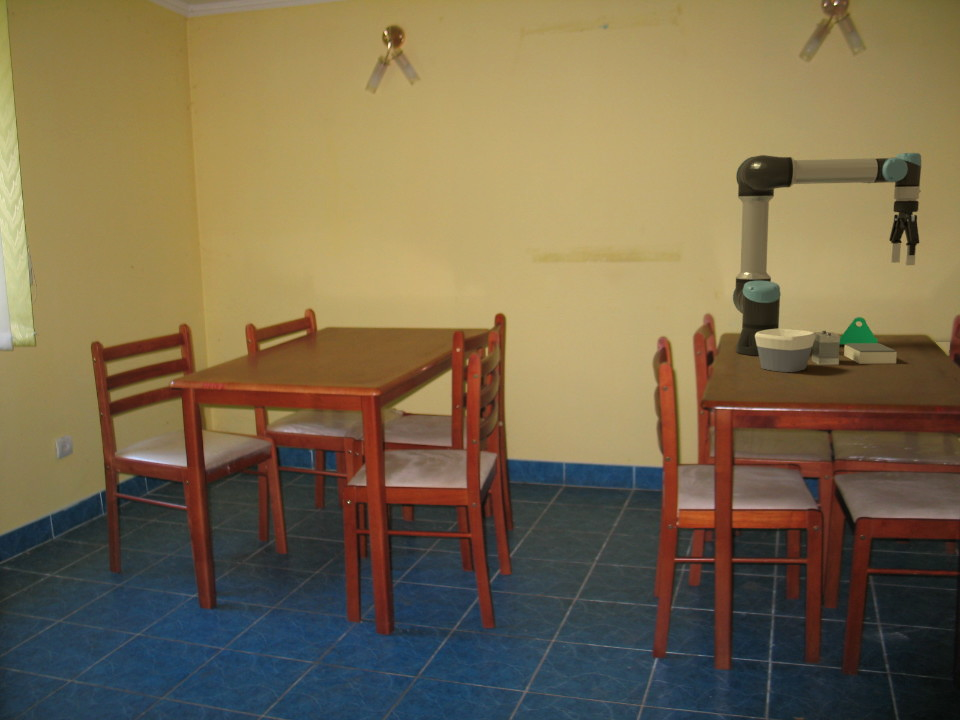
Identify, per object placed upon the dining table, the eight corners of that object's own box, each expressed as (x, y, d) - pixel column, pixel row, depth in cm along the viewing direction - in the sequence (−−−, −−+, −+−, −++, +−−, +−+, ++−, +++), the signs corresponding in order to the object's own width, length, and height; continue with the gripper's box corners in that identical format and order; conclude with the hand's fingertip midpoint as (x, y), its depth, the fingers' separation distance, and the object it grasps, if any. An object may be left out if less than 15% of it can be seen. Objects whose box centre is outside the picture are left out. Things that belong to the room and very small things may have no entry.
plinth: (859, 363, 276) (859, 350, 276) (844, 355, 291) (844, 343, 290) (896, 363, 275) (896, 350, 274) (879, 355, 290) (879, 343, 289)
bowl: (746, 369, 271) (748, 332, 269) (775, 362, 281) (776, 327, 279) (792, 375, 260) (794, 337, 258) (820, 368, 269) (822, 332, 268)
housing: (818, 364, 276) (820, 334, 274) (811, 360, 284) (812, 330, 282) (838, 364, 275) (840, 333, 274) (831, 360, 283) (832, 330, 282)
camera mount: (877, 345, 310) (879, 316, 308) (876, 349, 303) (878, 318, 301) (840, 343, 315) (841, 314, 313) (838, 347, 308) (840, 317, 306)
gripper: (933, 199, 287) (928, 266, 291) (904, 200, 311) (900, 261, 315) (908, 200, 288) (904, 266, 291) (881, 200, 312) (878, 261, 316)
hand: (902, 263), depth 303 cm, fingers open, 13 cm apart
